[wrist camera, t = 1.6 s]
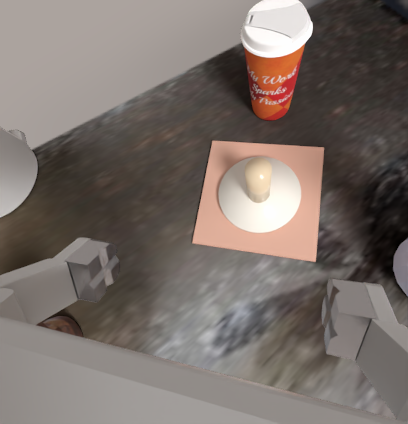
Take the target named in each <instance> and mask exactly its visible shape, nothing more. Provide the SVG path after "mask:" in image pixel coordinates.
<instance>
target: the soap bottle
mask: <svg viewBox="0 0 408 424" xmlns="http://www.w3.org/2000/svg"><path fill="white" fill-rule="evenodd" d="M393 271H394V274H395V277H396V280H397V283H398V284H399V286H400V287H401V288H402V290H403V291H404V292H405V294H406V295H407V296H408V238H407V239H406V240H405V241H404V242H402V243H401V244H400V245H399V247H398V249H397V251H396V253H395V255H394V262H393Z"/></svg>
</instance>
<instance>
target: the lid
mask: <svg viewBox="0 0 408 424" xmlns="http://www.w3.org/2000/svg"><path fill="white" fill-rule="evenodd" d="M218 195H219V203H220V206H221V209H222V211H223V213H224V215H225V216H226V218H227V219H228V220H229V221H230V222H231V223H232V224H233V225H234V226H236V227H237V228H239V229H241V230H243V231H246V232H250V233H258V234H260V233H269V232H272V231H275V230H278V229H280V228H281V227H283V226H285V225H286V224H287V223H288V222H289V221H290V220H291V219H292V218H293V217H294V215H295V214H296V212H297V210H298V207H299V204H300V201H301V186H300V183H299V180H298V178H297V176H296V175H295V173H294V172H293V171H292V169H291V168H290V167H289V166H287V165H286V164H285V163H283V162H281V161H279V160H277V159H274V158H270V157H264V156H257V157H251V158H247V159H244V160H242V161H240V162H238V163H236V164H235V165H233V166H232V167H231V168H230V169H229V170H228V171H227V172H226V174H225V175H224V177H223V179H222V181H221V183H220V187H219V193H218Z"/></svg>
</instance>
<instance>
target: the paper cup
mask: <svg viewBox="0 0 408 424" xmlns="http://www.w3.org/2000/svg"><path fill="white" fill-rule="evenodd" d="M312 29H313V25H312V22H311V20H310V17H309V15H308V13H307V10H306V8H305V7H304V6H303V4H302V3H301V2H300V1H298V0H263V1H261V2H260V3H258V4H256V5H255V6H254V7H253V8H252V9H251V10H250V11H249V12H248V15H247V18H246V20H245V22H244V24H243V26H242V28H241V33H240V35H241V42H242V44H243V46H244V48H245V58H246V65H247V72H248V79H249V87H250V94H251V101H252V107H253V111H254V113H255V114H256V116H257V117H259V118H260V119H263V120H267V121H272V120H277V119H279V118H281V117H282V116H284V115H285V114H286V112H287V111H288V109H289V106H290V102H291V99H292V95H293V91H294V87H295V83H296V79H297V75H298V70H299V66H300V62H301V58H302V54H303V50H304V46H305V42H306V41H307V40H308V39H309V38H310V36H311V34H312Z"/></svg>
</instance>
